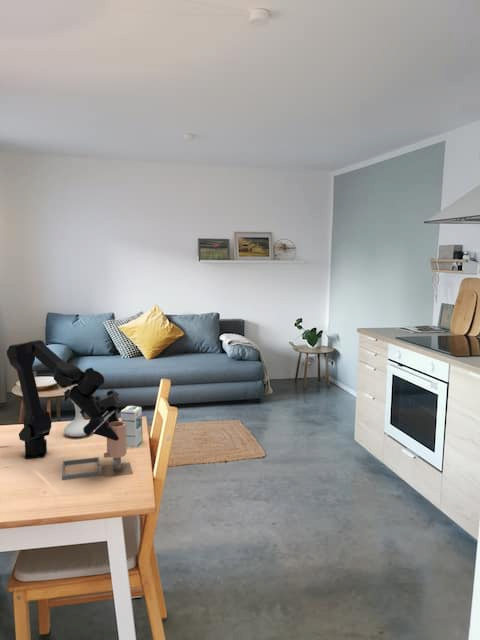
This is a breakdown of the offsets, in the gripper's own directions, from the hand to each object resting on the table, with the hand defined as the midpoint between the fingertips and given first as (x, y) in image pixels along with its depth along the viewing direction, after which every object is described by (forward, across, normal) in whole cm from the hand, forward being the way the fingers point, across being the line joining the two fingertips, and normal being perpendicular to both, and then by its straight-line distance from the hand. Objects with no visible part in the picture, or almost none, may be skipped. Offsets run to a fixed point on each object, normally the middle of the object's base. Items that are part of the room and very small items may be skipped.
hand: (120, 436), depth 161 cm
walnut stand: (+8, 0, +10) cm, 12 cm away
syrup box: (+7, +22, +11) cm, 25 cm away
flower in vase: (-10, +31, +28) cm, 43 cm away
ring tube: (+3, 0, +5) cm, 6 cm away
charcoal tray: (0, -2, +18) cm, 18 cm away
